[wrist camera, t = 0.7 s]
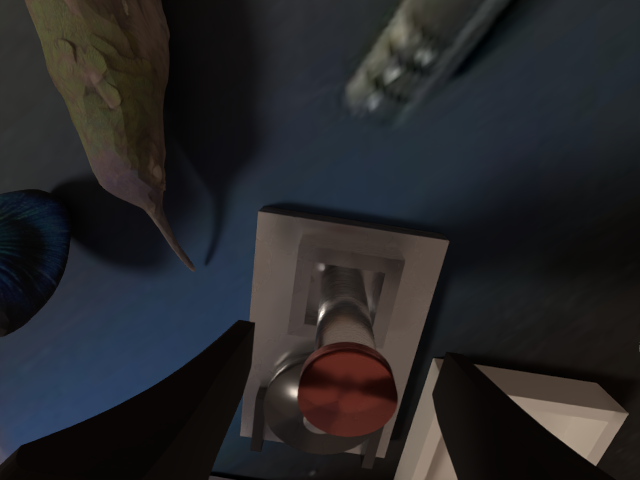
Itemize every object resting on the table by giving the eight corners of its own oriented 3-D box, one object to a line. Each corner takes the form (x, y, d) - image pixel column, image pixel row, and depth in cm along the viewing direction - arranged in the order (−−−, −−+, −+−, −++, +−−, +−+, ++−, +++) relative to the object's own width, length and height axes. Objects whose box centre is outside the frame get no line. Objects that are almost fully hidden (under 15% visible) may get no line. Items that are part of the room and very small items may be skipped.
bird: (-37, -379, 11) (-316, -760, 6) (100, -414, 11) (-89, -849, 6) (152, 269, 19) (92, 315, 14) (234, 264, 19) (200, 309, 14)
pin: (365, 314, 18) (386, 443, 11) (310, 306, 18) (292, 428, 11) (377, 264, 17) (408, 367, 9) (318, 255, 17) (304, 351, 9)
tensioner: (381, 441, 23) (388, 485, 20) (245, 420, 23) (231, 461, 20) (442, 233, 17) (462, 253, 14) (263, 206, 17) (249, 220, 14)
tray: (521, 518, 25) (539, 556, 22) (387, 498, 25) (392, 533, 22) (597, 383, 20) (628, 413, 18) (433, 357, 20) (445, 385, 18)
